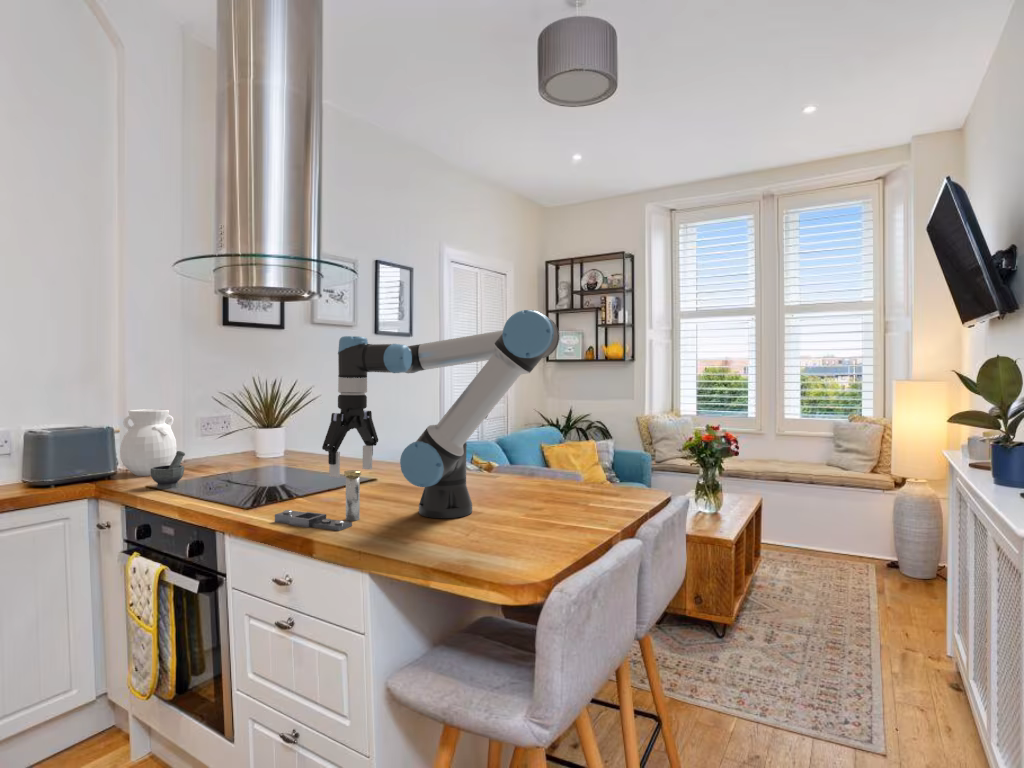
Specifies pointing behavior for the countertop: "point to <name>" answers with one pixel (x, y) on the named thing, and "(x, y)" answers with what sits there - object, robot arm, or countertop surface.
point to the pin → (352, 495)
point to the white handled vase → (148, 441)
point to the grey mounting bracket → (310, 520)
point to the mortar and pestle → (169, 473)
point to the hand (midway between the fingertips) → (351, 472)
